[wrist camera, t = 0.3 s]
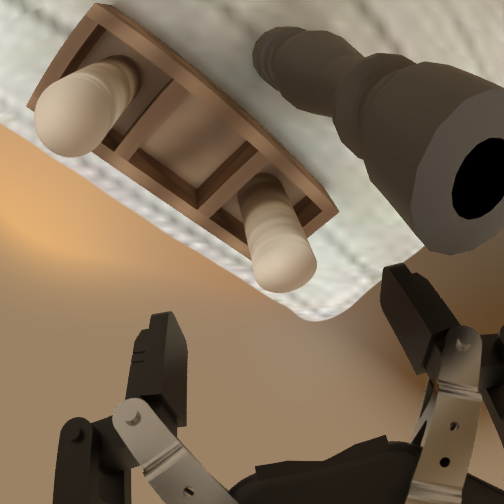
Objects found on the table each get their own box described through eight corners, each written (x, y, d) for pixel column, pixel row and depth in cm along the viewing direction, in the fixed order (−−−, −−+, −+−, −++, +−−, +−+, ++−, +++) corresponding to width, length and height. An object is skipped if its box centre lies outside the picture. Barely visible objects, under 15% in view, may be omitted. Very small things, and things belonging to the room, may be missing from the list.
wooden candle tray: (48, 92, 24) (-24, 142, 14) (111, 5, 20) (52, -2, 10) (259, 242, 40) (281, 328, 31) (324, 187, 36) (371, 263, 27)
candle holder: (311, 90, 29) (496, 258, 10) (249, 83, 28) (371, 265, 9) (320, 32, 25) (559, 115, 6) (255, 22, 24) (441, 44, 5)
